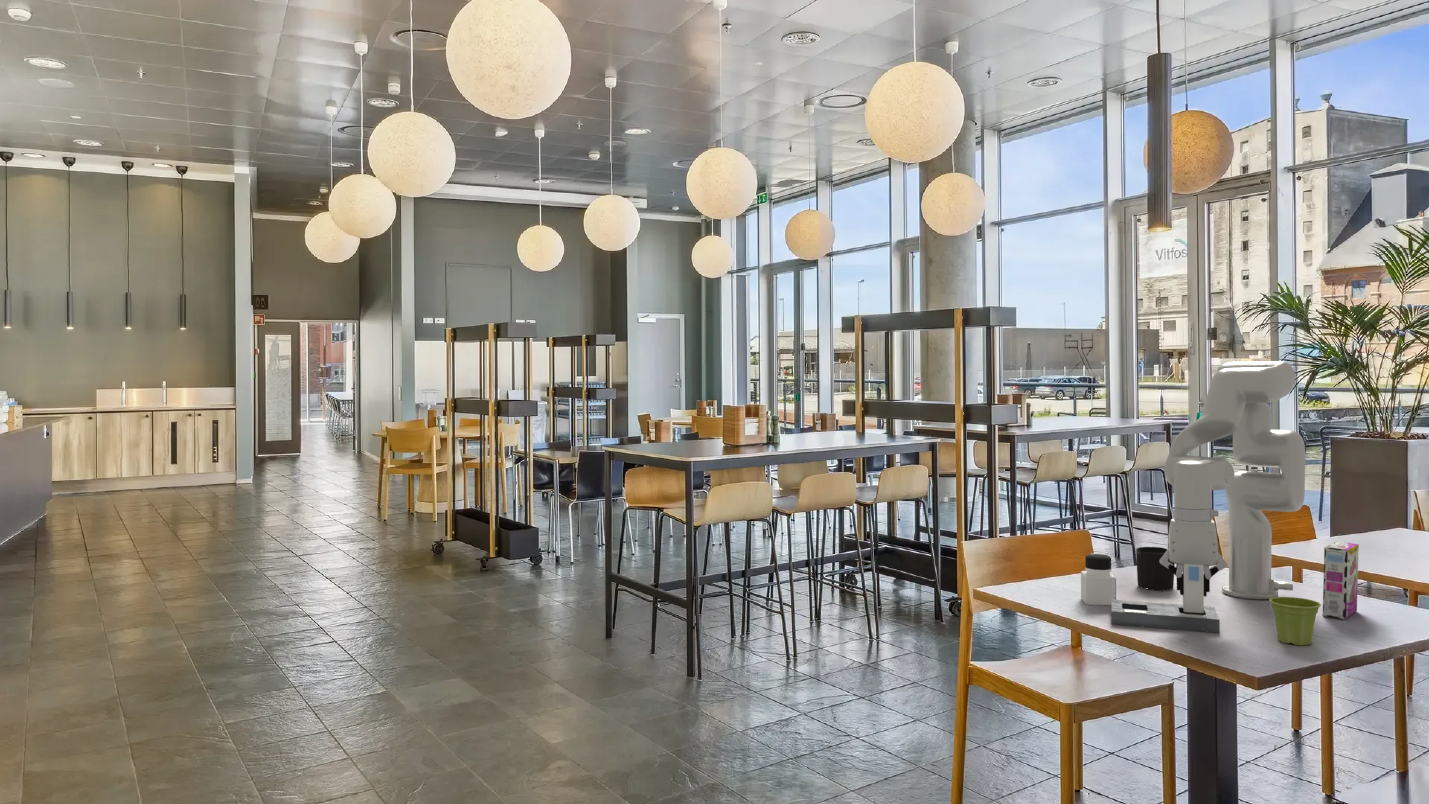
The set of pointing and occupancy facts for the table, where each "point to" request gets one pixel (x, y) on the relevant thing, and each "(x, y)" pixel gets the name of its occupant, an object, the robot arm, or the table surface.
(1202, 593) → the plug
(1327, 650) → the table surface
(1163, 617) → the jack panel
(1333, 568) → the candy bar box
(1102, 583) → the medicine bottle
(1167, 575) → the pen holder
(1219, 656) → the table surface
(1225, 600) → the table surface
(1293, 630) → the plant pot
